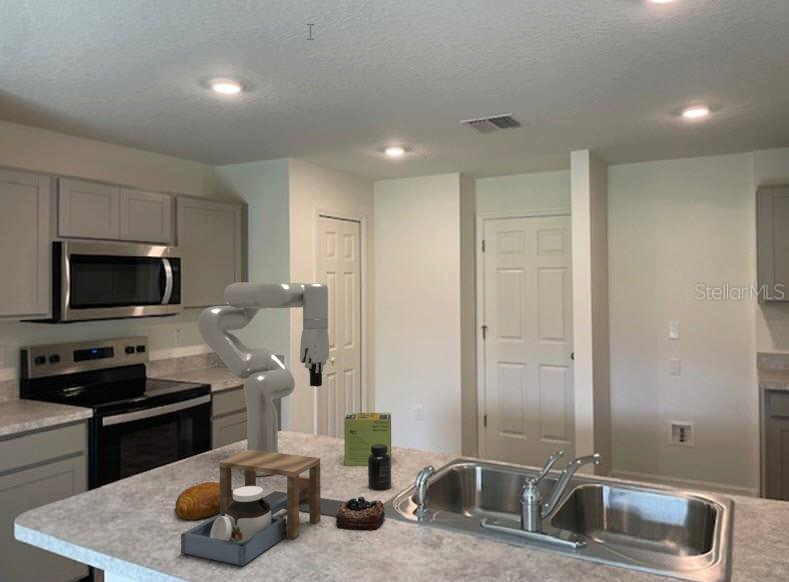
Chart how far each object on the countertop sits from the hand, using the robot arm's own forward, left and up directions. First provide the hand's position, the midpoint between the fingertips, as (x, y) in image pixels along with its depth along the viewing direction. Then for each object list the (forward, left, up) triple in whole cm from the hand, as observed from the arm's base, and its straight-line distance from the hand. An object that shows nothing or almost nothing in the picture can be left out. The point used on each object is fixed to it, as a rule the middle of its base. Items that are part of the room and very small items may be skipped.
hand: (315, 385), depth 178 cm
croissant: (-17, -30, -30) cm, 45 cm away
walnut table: (+5, -31, -29) cm, 43 cm away
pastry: (+25, -22, -30) cm, 44 cm away
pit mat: (+6, -16, -29) cm, 34 cm away
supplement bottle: (+19, +4, -29) cm, 35 cm away
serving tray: (+5, -34, -29) cm, 45 cm away
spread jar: (+5, -43, -29) cm, 53 cm away
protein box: (+5, +26, -29) cm, 40 cm away
